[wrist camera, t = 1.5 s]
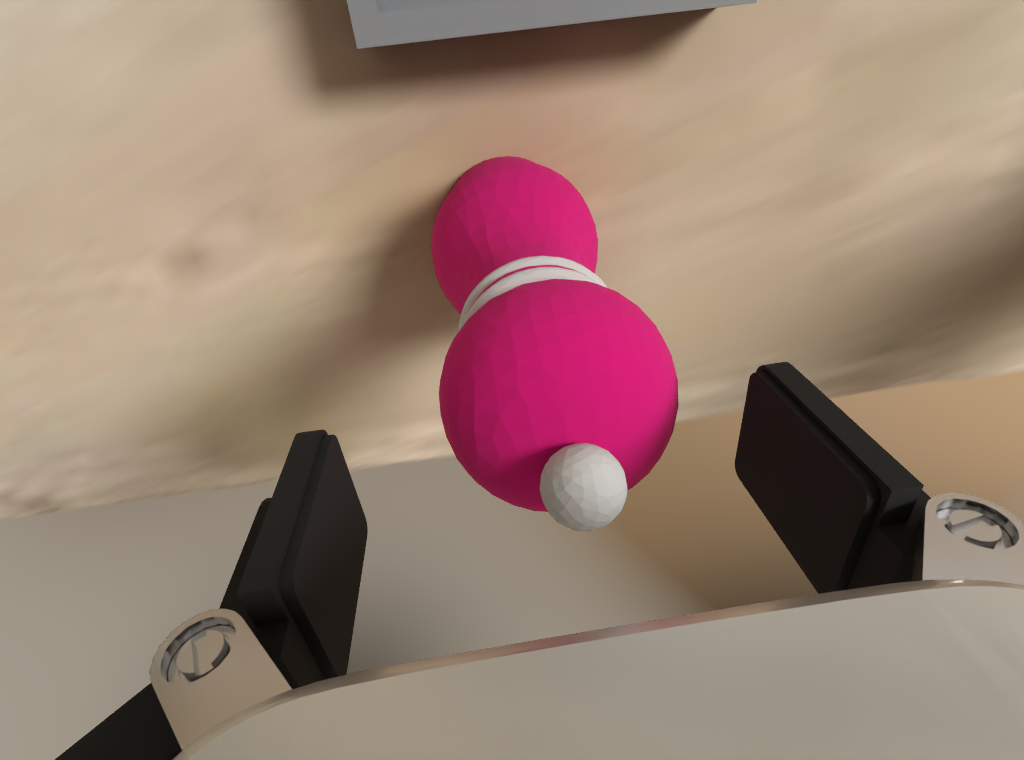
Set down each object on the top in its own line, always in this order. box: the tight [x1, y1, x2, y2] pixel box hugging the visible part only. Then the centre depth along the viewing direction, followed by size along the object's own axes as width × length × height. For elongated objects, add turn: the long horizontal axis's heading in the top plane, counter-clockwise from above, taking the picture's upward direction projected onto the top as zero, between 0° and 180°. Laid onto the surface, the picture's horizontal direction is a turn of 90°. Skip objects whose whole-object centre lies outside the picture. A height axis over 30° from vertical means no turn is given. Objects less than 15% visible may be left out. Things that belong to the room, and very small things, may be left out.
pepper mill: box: [431, 156, 678, 531], centre depth 18 cm, size 7×7×20 cm
